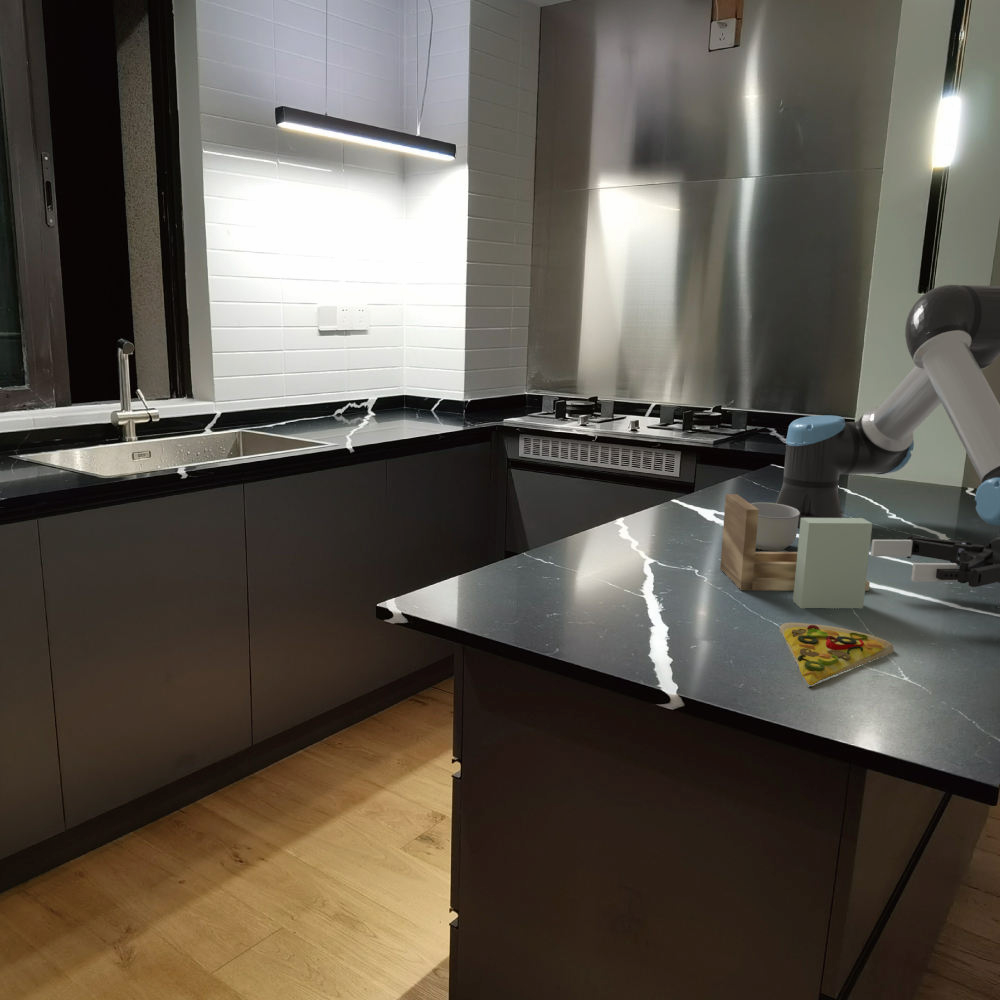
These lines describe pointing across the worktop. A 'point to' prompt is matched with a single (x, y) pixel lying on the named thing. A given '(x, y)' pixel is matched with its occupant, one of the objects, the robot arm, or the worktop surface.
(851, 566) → the pale green block
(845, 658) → the pizza slice
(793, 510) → the teacup
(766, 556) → the track
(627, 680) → the worktop surface
